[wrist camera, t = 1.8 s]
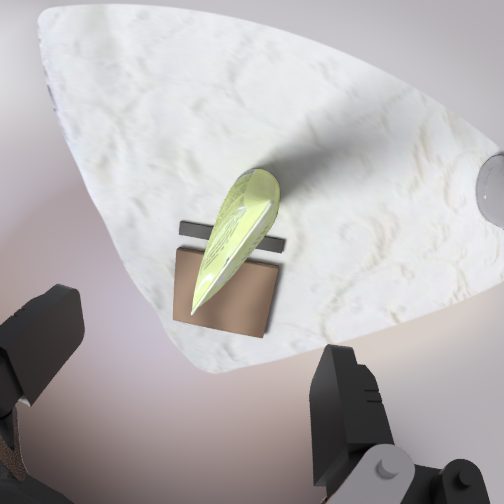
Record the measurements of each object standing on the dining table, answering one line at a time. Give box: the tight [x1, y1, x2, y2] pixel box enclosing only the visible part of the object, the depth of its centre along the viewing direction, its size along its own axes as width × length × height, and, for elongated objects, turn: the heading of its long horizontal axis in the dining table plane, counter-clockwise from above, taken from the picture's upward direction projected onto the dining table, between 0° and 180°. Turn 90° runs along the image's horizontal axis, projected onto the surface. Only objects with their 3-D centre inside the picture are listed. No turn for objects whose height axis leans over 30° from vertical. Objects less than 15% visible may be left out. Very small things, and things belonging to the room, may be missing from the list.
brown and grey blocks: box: [173, 222, 284, 338], centre depth 37 cm, size 12×13×1 cm
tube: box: [191, 169, 280, 315], centre depth 24 cm, size 6×5×20 cm
